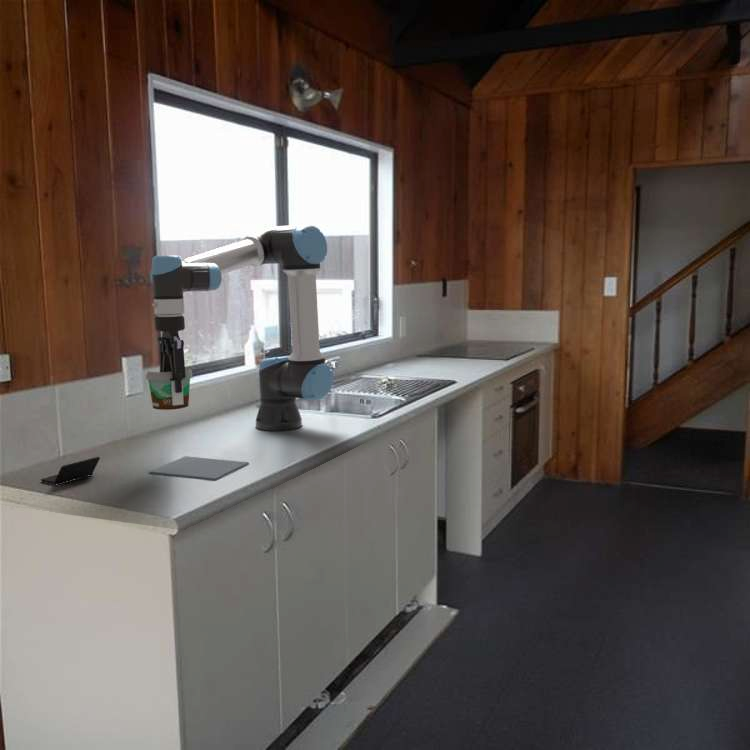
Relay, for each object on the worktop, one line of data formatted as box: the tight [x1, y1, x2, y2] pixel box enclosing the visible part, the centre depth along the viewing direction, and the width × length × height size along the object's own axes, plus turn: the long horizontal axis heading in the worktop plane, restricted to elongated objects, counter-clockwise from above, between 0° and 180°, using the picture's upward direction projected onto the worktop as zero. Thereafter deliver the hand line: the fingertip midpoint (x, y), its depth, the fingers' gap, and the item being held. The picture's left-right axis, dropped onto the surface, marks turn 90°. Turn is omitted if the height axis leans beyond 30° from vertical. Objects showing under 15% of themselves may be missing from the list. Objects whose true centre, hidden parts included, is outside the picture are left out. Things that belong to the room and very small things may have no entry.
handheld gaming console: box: [40, 456, 101, 486], centre depth 186 cm, size 12×7×10 cm
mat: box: [148, 455, 250, 481], centre depth 195 cm, size 16×20×1 cm
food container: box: [145, 367, 193, 411], centre depth 196 cm, size 12×6×10 cm, turn 123°
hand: (173, 402), depth 196 cm, fingers closed on food container, 6 cm apart
